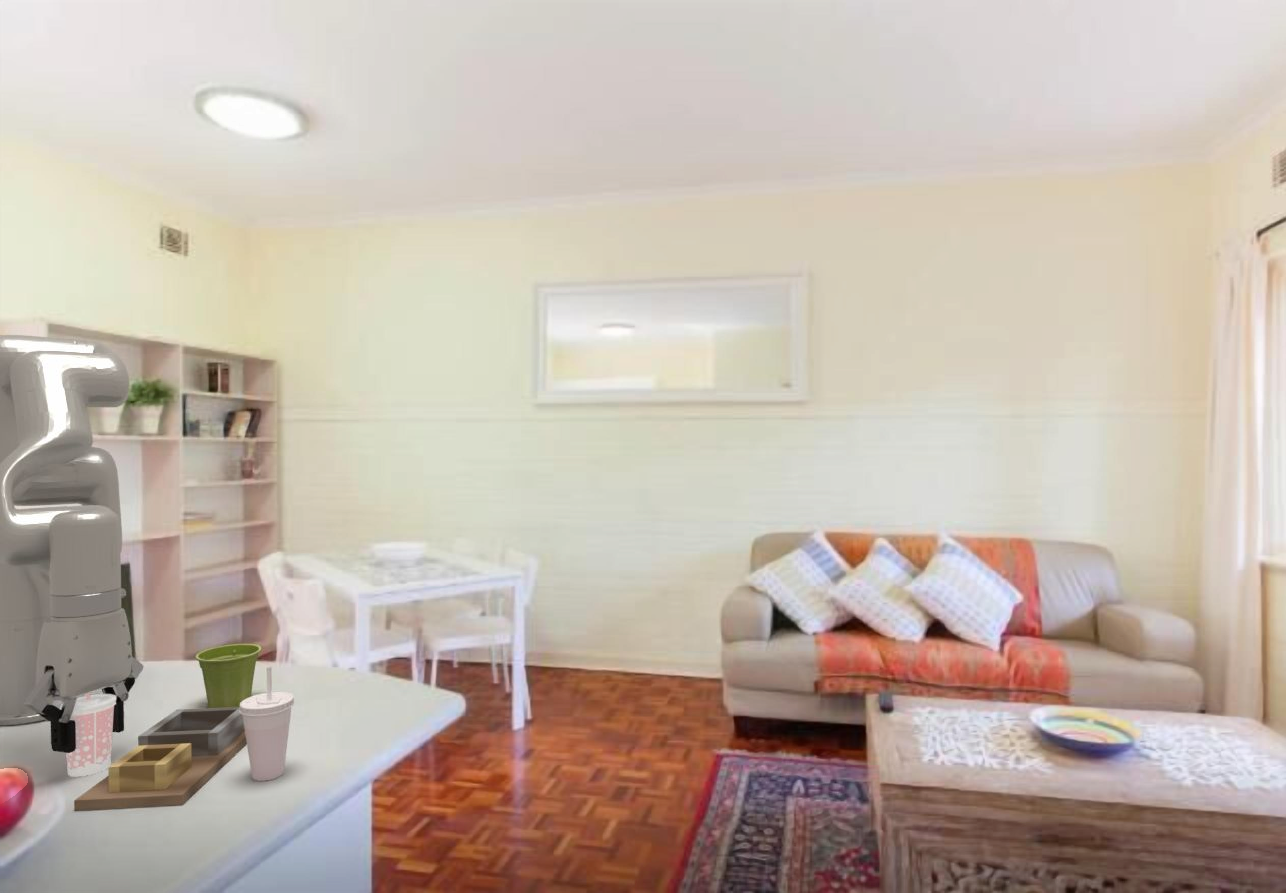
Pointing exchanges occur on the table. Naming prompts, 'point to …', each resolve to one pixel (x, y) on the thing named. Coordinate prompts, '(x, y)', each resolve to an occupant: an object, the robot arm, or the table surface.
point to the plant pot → (228, 673)
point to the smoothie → (267, 730)
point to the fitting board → (170, 760)
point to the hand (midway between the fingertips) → (89, 739)
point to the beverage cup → (92, 734)
